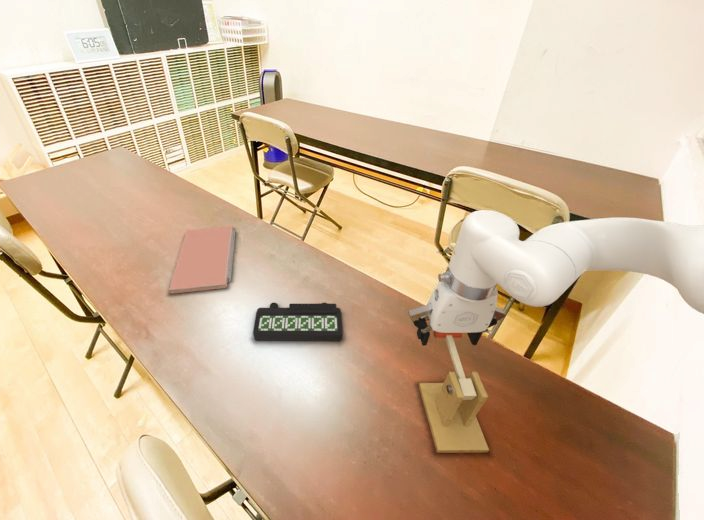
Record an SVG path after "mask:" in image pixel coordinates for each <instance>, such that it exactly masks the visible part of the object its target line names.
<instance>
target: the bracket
mask: <svg viewBox="0 0 704 520" xmlns="http://www.w3.org/2000/svg"><path fill="white" fill-rule="evenodd" d="M468 378H471V380H472V383H473V386H474V389H475V392H476V395H477V396H476V397H475V398H473V399H472V400H463V398H464V396H463V393H462V391H461V388H460V385H459V383H458V378H457V375H456V371H448V373H447V375H446V376H445V379H444V382H419V383H418V389H419V393H420V395H421V400H422V404H423V407H424V411H425V414H426V415H425V416H426V418H427V422H428V425H429V429H430V433H431V436H432V441H433V444H434V447H435V450H436V451H435V452H436V453H439V454H444V453H445V454H446V453H448V454H449V453H450V454H452V453H454V454H455V453H456V454H457V453H458V454H459V453H460V454H461V453H469V454H470V453H479V454H480V453H481V454H482V453H483V454H484V453H488V452H489V451H490V448H489V446H488V443H487V440H486V438H485V436H484V433H483V431H482V428H481V425H480V423H479V420H478V418H477V415H478V413H480V411H481V409H482V407H483V406H484V404H486V401H487V399H488V398H489V395H488V393H487V390H486V389H485V386H484V384H483V381H482V379H481V377H480V375H479V373H478V371H471V372H470V374H469V376H468Z"/></svg>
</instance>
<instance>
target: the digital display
mask: <svg viewBox="0 0 704 520" xmlns="http://www.w3.org/2000/svg"><path fill="white" fill-rule="evenodd" d="M255 313H256V314H255V319H254V324H253V331H252V334H253V338H254V340H255V341H256V342H342V340H343V325H342V324H343V321H342V310H341V308H340V307H338V306H337V304H336V303H328V302H321V303H289V305H288V307H279V303H277V302H271V303H270V304H269V307H258V308H257V309H256V312H255Z"/></svg>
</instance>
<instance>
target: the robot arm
mask: <svg viewBox="0 0 704 520" xmlns="http://www.w3.org/2000/svg"><path fill="white" fill-rule="evenodd" d="M462 221H463V222H462V224H461V226H460V230H459V233H458V236H457V239H456V241H455V245H454V248H453V250H452V254H451V257H450V260H449V262H448V266H447V267H446V270H445V271H444V272H443V273H439V274H437V280H438V282H437V283H436V284H435V287H434V288H433V290H432V292H431V294H430V296H429V299H428V302H427V304H425V305H422V306H419V307H416V308H413V309H412V308H411V309H409V310H408V315H409V318H410V320H411V322H412V323H413V326H415V327H416V328H417V330H416V337H417V339H418V340H420V343H421V345H422V346H423V347H425V346H427V345H428V342H429V339H430V336H431V333H430V332H431V331H433V332H434V331H436V332H440V333H462V334H464V333H465V334H467V337H468V339H469V341H470V343H471V345H472V346H477V345H478V343H479V341H480V339H481V337H482V336H483V334H484V333H488V332H489V328H491V327H493V326H496V325H497V324H498V321H499V322H500V321H501V320H502V319H504V318H505V317H506V316H507V314H506V312H505V311H504V309H503V308H501V307H499V306H497V303H498V295H499V291H498V287H497V286H499V287H500V288H501V289H502V290H504V292H505V293H507V294H508V296H510V297H512V298H513V299H514V300H516V301H518V302H519V303H520V304H521V303H522V304H524V305H526V306H530V307H534V308H542V307H545V306H546V307H547V306H550V305H551V304H553V303H554V302H556V301H557V300H558V299H559V298H561V296H562V295H563V294H564V293H565V292H566V291H567V290H568V289H569V288H570V287H571V286H572V285H573V284H574V283H575V282H576V281H577V280H578V279H579V278H580V277H581V275H583V274H584V273H585V272H588V271H590V272H591V271H606V272H607V271H611V272H613V271H614V272H629V273H639V274H643V275H648V276H652V277H655V278H657V279H659V280H663V281H664V282H666V283H668V284H669V285H671V286H672V287H674V288H675V289H676V290H677V292H678V294H679V296H681V298H682V300H683V301H684V302H685V303H686V304H687V305H688V306H689V307H690V308H691V309H693V310H695V311H696V312H698V313H701V314H703V315H704V224H702V225H690V224H689V225H688V224H687V225H686V224H682V223H676V222H671V221H663V220H653V219H648V218H647V219H646V218H639V217H621V216H620V217H602V218H601V217H600V218H591V219H582V220H581V219H580V220H579V219H578V220H571V221H562V222H557V223H553V224H550V225H547V226H544V227H542V228H540V229H538V230H537V231H536V232H534V233H532V234H531V235H530V236H529V237H527V238H526V239H525V240H520V234H521V232H520V228H519V226H518V225H519V224H517V222H516V221H515V220H514V219H512V218H511V217H510V216H508V215H506V214H505V213H502V212H499V211H496V210H491V209H479V210H475V211H472V212H470V213H469V214H467V215H466V217H465V218H464V219H463V220H462ZM427 321H429V323H427Z"/></svg>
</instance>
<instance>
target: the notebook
mask: <svg viewBox="0 0 704 520" xmlns="http://www.w3.org/2000/svg"><path fill="white" fill-rule="evenodd" d="M236 233H237V232H236V230H235V229H234V226H233V225H227V226H215V227H206V228H194V229H186V230H185V233H184V237H183V241H182V243H181V248H180V251H179V254H178V257H177V261H176V263H175V268H174V271H173V274H172V277H171V281H170V283H169V288H168V291H169V294H171V295H172V294H180V293H181V294H182V293H191V292H199V291H209V290H218V289H219V290H220V289H227V288H228V283H229V282H231V280H232V274H233V273H232V272H233V261H234V253H235V242H236Z"/></svg>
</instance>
